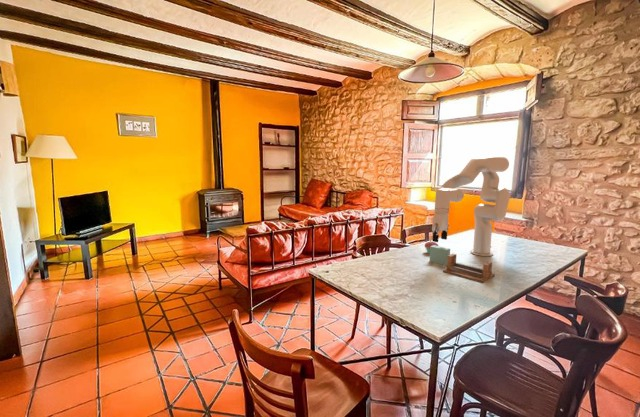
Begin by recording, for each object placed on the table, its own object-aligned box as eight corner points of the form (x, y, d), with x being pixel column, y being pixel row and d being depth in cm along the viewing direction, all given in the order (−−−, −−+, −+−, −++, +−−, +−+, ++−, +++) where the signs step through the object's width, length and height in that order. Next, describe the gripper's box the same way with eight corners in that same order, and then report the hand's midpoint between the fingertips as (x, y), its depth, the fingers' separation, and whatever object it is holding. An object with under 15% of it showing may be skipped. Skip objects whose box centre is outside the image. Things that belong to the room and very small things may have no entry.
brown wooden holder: (455, 265, 166) (456, 252, 165) (494, 275, 151) (495, 260, 150) (442, 271, 157) (443, 257, 156) (483, 282, 142) (484, 266, 141)
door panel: (433, 259, 177) (433, 245, 176) (449, 263, 170) (450, 248, 169) (429, 261, 175) (430, 246, 174) (445, 265, 167) (446, 249, 166)
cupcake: (433, 255, 185) (434, 236, 183) (421, 252, 192) (422, 234, 190) (440, 252, 191) (441, 234, 189) (428, 250, 197) (429, 232, 195)
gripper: (442, 208, 176) (441, 237, 179) (427, 211, 165) (425, 241, 167) (455, 210, 171) (453, 239, 173) (440, 213, 159) (438, 244, 162)
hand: (439, 240), depth 170 cm, fingers open, 9 cm apart
